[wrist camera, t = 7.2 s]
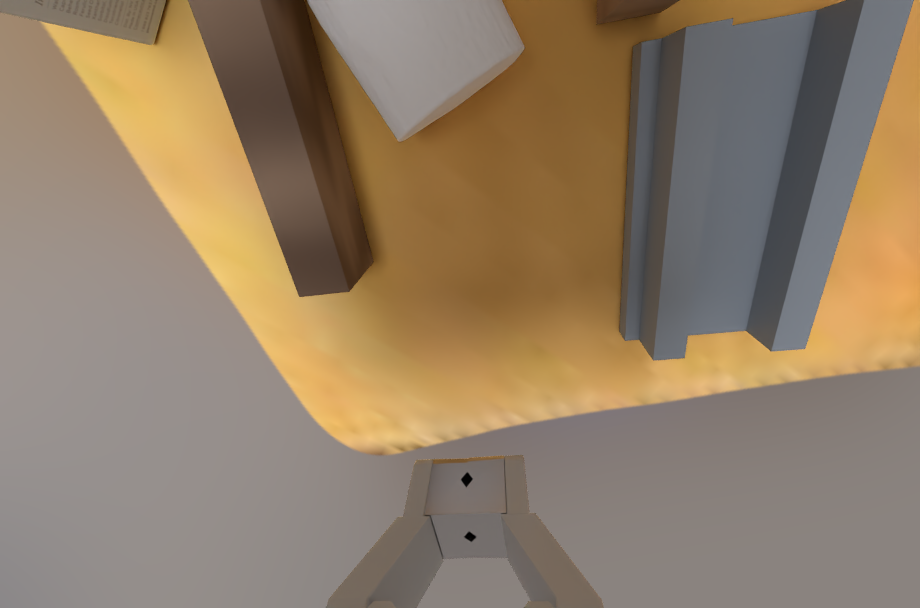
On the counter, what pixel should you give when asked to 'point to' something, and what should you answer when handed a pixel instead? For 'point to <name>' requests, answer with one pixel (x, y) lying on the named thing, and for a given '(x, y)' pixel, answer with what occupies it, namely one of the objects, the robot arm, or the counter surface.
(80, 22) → the small box
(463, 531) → the robot arm
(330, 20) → the roll
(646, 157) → the cradle
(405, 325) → the counter surface
